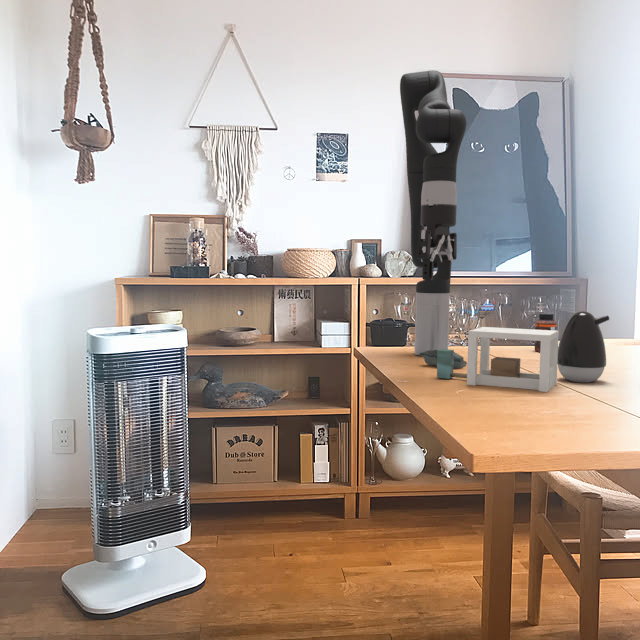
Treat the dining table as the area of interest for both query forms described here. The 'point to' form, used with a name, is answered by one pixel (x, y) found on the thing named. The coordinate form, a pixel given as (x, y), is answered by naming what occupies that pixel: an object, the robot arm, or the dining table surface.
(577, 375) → the pump dispenser
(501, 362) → the tethered block
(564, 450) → the dining table surface
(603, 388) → the dining table surface
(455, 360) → the stone
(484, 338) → the white open frame stand
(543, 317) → the supplement bottle
